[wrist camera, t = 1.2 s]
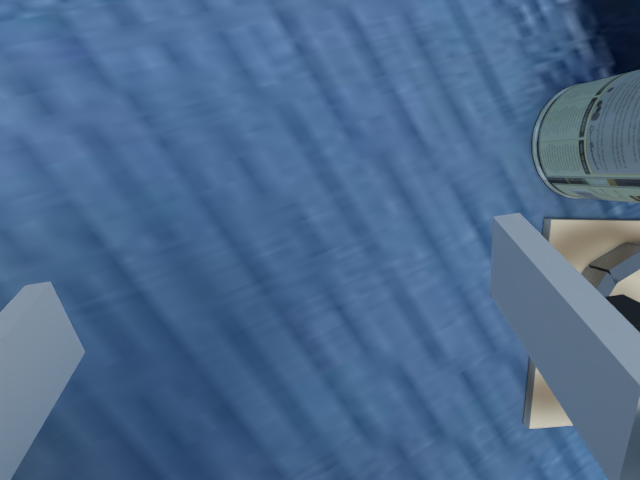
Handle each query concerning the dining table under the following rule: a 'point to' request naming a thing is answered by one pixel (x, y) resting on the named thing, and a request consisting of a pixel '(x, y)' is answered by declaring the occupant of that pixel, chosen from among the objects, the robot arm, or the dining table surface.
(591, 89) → the coffee can
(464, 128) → the dining table surface
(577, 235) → the birch board
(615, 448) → the robot arm
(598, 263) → the steel collar
